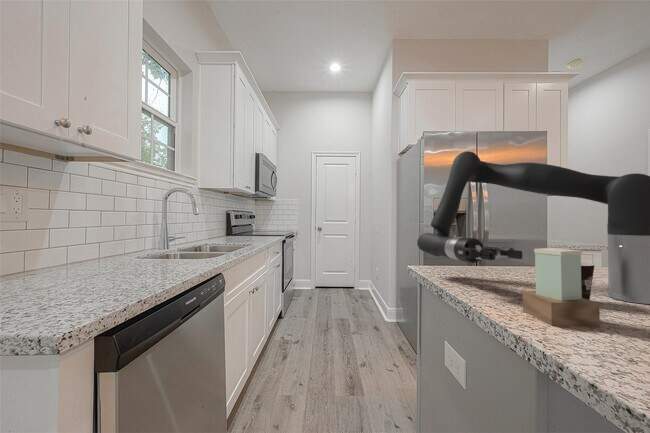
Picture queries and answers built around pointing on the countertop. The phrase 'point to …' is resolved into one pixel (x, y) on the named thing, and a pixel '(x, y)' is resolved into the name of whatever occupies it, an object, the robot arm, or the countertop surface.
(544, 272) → the tea tin
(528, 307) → the walnut box
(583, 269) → the coffee mug
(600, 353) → the countertop surface
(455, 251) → the robot arm
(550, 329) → the countertop surface
